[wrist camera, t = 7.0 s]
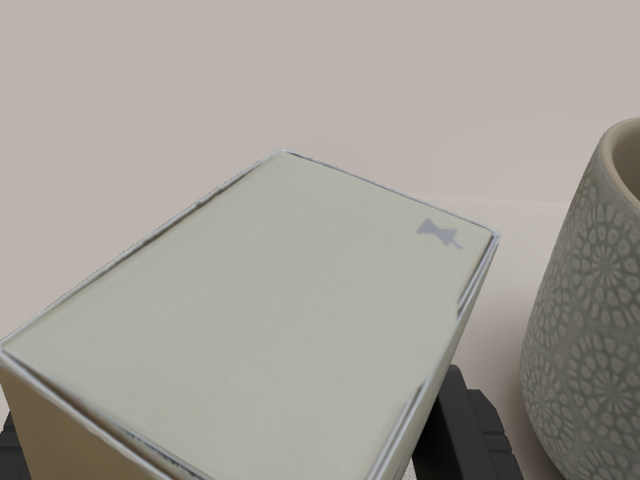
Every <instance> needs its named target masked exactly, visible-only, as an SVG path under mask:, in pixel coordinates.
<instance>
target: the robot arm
mask: <svg viewBox="0 0 640 480" xmlns="http://www.w3.org/2000/svg"><path fill="white" fill-rule="evenodd" d="M504 432H505V431H504V428H503V426H502V423H501V421H500V418H499V416H498V413H497V411H496V409H495V408H494V406H493V405H492V404H491V403H490V402H489V400H488V399H487V398H486V397H485V396H484V395H483V393H482V392H481V391H480V390H473V389H467V388H466V385H465V382H464V379H463V377H462V374H461V371H460V369H459V368H458V367H457V366H456V365H449V368H448V370H447V372H446V375H445V377H444V380H443V382H442V385H441V387H440V390H439V392H438V394H437V397H436V399H435V402H434V404H433V407H432V409H431V412H430V414H429V416H428V419H427V421H426V424H425V426H424V428H423V430H422V433H421V435H420V437H419V440H418V442H417V444H416V447H415V449H414V451H413V454H412V456H411V457H412V461H413V465H414V469H415V474H416V478H417V480H524V478H523V476H522V473H521V471H520V468H519V466H518V463H517V461H516V458H515V456H514V454H512V448H511V446H510V443H509V441H508V438H507V436H505V434H504ZM0 480H32V478H31V475H30V472H29V468H28V465H27V462H26V459H25V456H24V453H23V450H22V447H21V444H20V441H19V438H18V435H17V432H16V429H15V425H14V422H13V419H12V415H11V412H9V414H8V417H7V419H6V421H5V424H4V428H3V431H2V432H1V433H0Z"/></svg>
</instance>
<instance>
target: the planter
mask: <svg viewBox="0 0 640 480" xmlns="http://www.w3.org/2000/svg"><path fill="white" fill-rule="evenodd" d="M520 379H521V387H522V394H523V399H524V403H525V407H526V410H527V413H528V416H529V419H530V421H531V424H532V426H533V429H534V431H535V433H536V435H537V437H538V439H539V441H540V443H541V444H542V446H543V448H544V450H545V451H546V453H547V454H548V456H549V457H550V459H551V460H552V462H553V463H554V465H555V466H556V467H557V469H558V470H559V471H560V473H561V474H562V475H563V477H564V478H565V479H566V480H640V117H635V118H630V119H627V120H624V121H621V122H619V123H617V124H615V125H613V126H612V127H611V128H609V129H608V130H607V131H606V132H605V133H604V134H603V136H602V137H601V139H600V141H599V143H598V145H597V147H596V149H595V151H594V153H593V155H592V157H591V159H590V161H589V163H588V165H587V167H586V169H585V172H584V174H583V176H582V179H581V181H580V183H579V186H578V188H577V190H576V193H575V195H574V198H573V200H572V202H571V205H570V207H569V210H568V212H567V215H566V217H565V220H564V222H563V225H562V227H561V230H560V232H559V235H558V238H557V241H556V244H555V246H554V249H553V252H552V255H551V257H550V260H549V263H548V265H547V268H546V271H545V274H544V276H543V279H542V282H541V284H540V287H539V290H538V293H537V296H536V300H535V303H534V306H533V309H532V312H531V315H530V318H529V322H528V326H527V330H526V334H525V338H524V342H523V346H522V352H521V361H520Z"/></svg>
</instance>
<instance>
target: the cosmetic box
mask: <svg viewBox="0 0 640 480" xmlns="http://www.w3.org/2000/svg"><path fill="white" fill-rule="evenodd" d="M500 237H501V235H500V234H499V233H498V231H497V230H494V229H492V228H490V227H488V226H486V225H483V224H480V223H477V222H474V221H471V220H468V219H466V218H463V217H460V216H457V215H455V214H453V213H450V212H448V211H446V210H444V209H441V208H438V207H436V206H433V205H431V204H429V203H426V202H423V201H421V200H418V199H415V198H413V197H410V196H408V195H405V194H403V193H400V192H398V191H395V190H393V189H390V188H387V187H385V186H383V185H380V184H378V183H375V182H372V181H370V180H367V179H365V178H362V177H359V176H357V175H354V174H351V173H349V172H347V171H344V170H342V169H339V168H337V167H334V166H331V165H329V164H326V163H323V162H321V161H317V160H314V159H312V158H309V157H306V156H303V155H300V154H298V153H295V152H294V151H291V150H288V149H279V150H277V151H275V152H273V153H272V154H270V155H269V156H267V157H266V158H264V159H262V160H260V161H258V162H257V163H255V164H254V165H252V166H250V167H249V168H248V169H246V170H244V171H242V172H240V173H239V174H237V175H236V176H235V177H233V178H231V179H230V180H228V181H227V182H225V183H224V184H222V185H221V186H220V187H217V188H215V189H214V190H213V191H211V192H210V193H209V194H207V195H206V196H204V197H203V198H201V199H199V200H198V201H196V202H195V203H194V204H193V205H191V206H190V207H188V208H187V209H185V210H184V211H182V212H181V213H179V214H178V215H176V216H175V217H173V218H172V219H170V220H169V221H167V222H166V223H165V224H163V225H162V226H160V227H159V228H158V229H156V230H155V231H153V232H152V233H150V234H149V235H148V236H146V237H145V238H143V239H142V240H140V241H139V242H137V243H136V244H135V245H133V246H131V247H130V248H129V249H127V250H126V251H124V252H123V253H122V254H120V255H119V256H118V257H116V258H115V259H114V260H112V261H110V262H109V263H107V264H106V265H104V266H103V267H102V268H100V269H99V270H97V271H96V272H94V273H93V274H92V275H90V276H89V277H88V278H86V279H85V280H84V281H83V282H81V283H80V284H78V285H77V286H76V287H75V288H73V289H72V290H70V291H69V292H67V293H66V294H64V295H63V296H61V297H60V298H59V299H57V300H56V301H55V302H53V303H52V304H51V305H50V306H48V307H47V308H46V309H44V310H43V311H42V312H40V313H39V314H37V315H36V316H35V317H33V318H32V319H30V320H29V321H27V322H26V323H25V324H23V325H22V326H20V327H19V328H18V329H16V330H15V331H13V332H12V333H10V334H9V335H8V336H6V337H5V338H3V339H2V340H1V341H0V384H1V386H2V389H3V392H4V395H5V397H6V400H7V403H8V406H9V408H10V412H11V415H12V419H13V422H14V425H15V429H16V432H17V435H18V438H19V441H20V444H21V447H22V450H23V453H24V456H25V459H26V462H27V465H28V468H29V472H30V475H31V478H32V480H402V478H403V476H404V473H405V471H406V468H407V466H408V464H409V461H410V459H411V456H412V454H413V451H414V449H415V447H416V444H417V442H418V440H419V437H420V435H421V433H422V430H423V428H424V426H425V424H426V421H427V419H428V416H429V414H430V412H431V409H432V407H433V404H434V402H435V399H436V397H437V394H438V392H439V390H440V387H441V385H442V382H443V380H444V377H445V375H446V372H447V370H448V368H449V365H450V363H451V360H452V358H453V355H454V353H455V351H456V348H457V346H458V343H459V341H460V338H461V336H462V334H463V331H464V329H465V326H466V324H467V321H468V319H469V317H470V314H471V312H472V309H473V307H474V304H475V302H476V300H477V297H478V295H479V292H480V290H481V287H482V285H483V282H484V280H485V277H486V275H487V272H488V270H489V267H490V265H491V262H492V260H493V257H494V255H495V252H496V250H497V247H498V244H499V242H500Z"/></svg>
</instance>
